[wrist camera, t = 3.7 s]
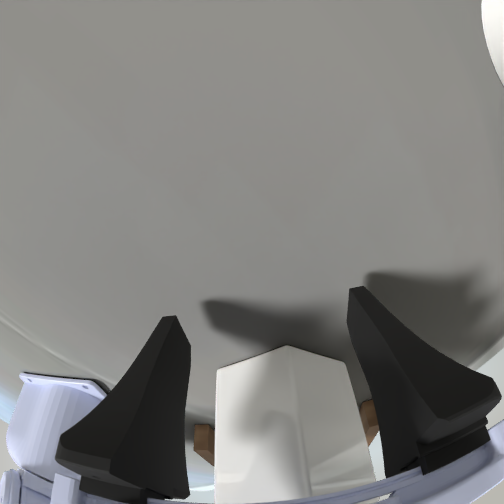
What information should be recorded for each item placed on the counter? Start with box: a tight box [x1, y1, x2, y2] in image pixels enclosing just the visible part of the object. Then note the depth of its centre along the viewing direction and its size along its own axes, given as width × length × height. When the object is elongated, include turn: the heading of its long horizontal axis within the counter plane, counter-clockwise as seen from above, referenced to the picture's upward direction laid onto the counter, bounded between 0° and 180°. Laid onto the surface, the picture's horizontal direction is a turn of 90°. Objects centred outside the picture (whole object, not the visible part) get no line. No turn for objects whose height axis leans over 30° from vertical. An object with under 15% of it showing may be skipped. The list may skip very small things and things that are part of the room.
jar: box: [214, 345, 380, 504], centre depth 13 cm, size 9×8×12 cm
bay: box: [194, 400, 379, 466], centre depth 24 cm, size 15×15×2 cm
